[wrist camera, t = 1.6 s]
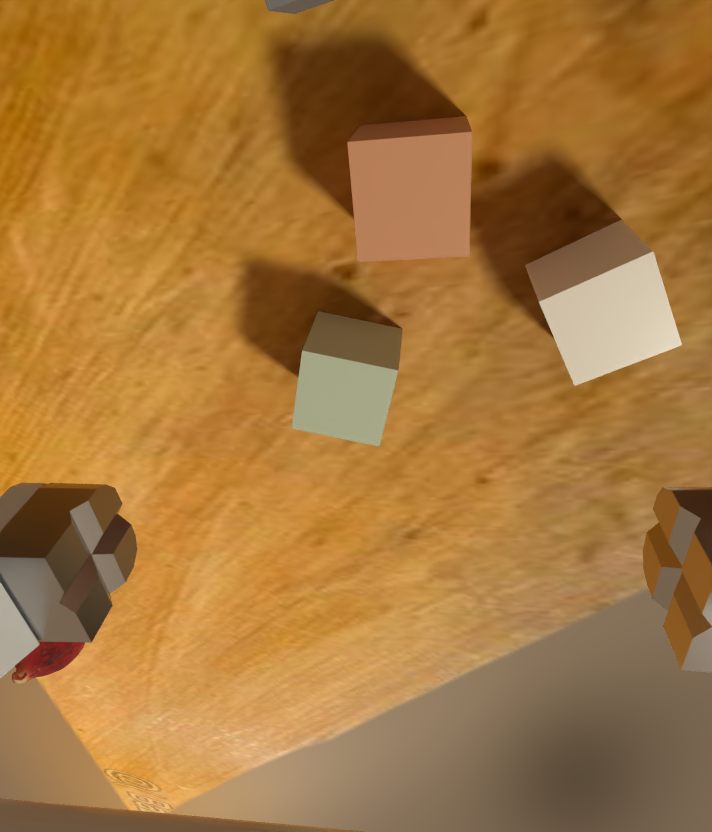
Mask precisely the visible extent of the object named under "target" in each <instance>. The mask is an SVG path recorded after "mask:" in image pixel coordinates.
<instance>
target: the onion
mask: <svg viewBox="0 0 712 832" xmlns="http://www.w3.org/2000/svg"><path fill="white" fill-rule="evenodd" d="M39 643H40V644H39V646H37V647H36V648H35V649H34V650H33V651H32V652H30V653H29V654H28V655H27V656H26V657H25V658H23V659H22V660H21V661H20V662H19V663H17V664H16V665H15V667H16V669H17V670H16V672H14V673H13V674H12V680H13V682H14V683H17V684H22V683H24V682H26V681H28V680H30V679H32V678H35V677H40V676H45V675H49V674H51V673H53V672H56V671H59V670H61V669H63V668H64V667H66V666H67V665H68V664H69V663H70V662H71V661H73V659H74V658H75V657H76V656H77V655H78V654H79V653H80V651H81V650H82V648H83V647H84V644H85V642H39Z"/></svg>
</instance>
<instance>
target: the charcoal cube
mask: <svg viewBox="0 0 712 832" xmlns="http://www.w3.org/2000/svg"><path fill="white" fill-rule="evenodd" d="M330 1H333V0H265V2H266V5H267V9H268V11H276V12H284V13H292V14H296V13H298V12H301V11H304V10H307V9H310V8H313V7H316V6H319V5H322V4H325V3H328V2H330Z"/></svg>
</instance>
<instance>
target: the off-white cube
mask: <svg viewBox="0 0 712 832" xmlns="http://www.w3.org/2000/svg"><path fill="white" fill-rule="evenodd" d="M525 267H526V270H527V272H528V275H529V278H530V280H531V283H532V285H533V288H534V291H535V293H536V296H537V299H538V301H539V304H540V306H541V308H542V311H543V313H544V315H545V318H546V320H547V322H548V325H549V327H550V329H551V332H552V334H553V336H554V339H555V341H556V343H557V346H558V348H559V350H560V353H561V355H562V357H563V360H564V362H565V364H566V367H567V369H568V372H569V374H570V376H571V379H572V381H573V383H574V386H575V385H578V384H581V383H583V382H586V381H589V380H591V379H594V378H596V377H599V376H602V375H604V374H607V373H610V372H612V371H615V370H618V369H620V368H623V367H626V366H628V365H631V364H633V363H636V362H639V361H641V360H644V359H647V358H649V357H652V356H655V355H657V354H660V353H663V352H665V351H668V350H670V349H673V348H676V347H678V346H681V345H682V344H681V341H680V337H679V334H678V331H677V327H676V324H675V321H674V318H673V314H672V311H671V308H670V305H669V301H668V298H667V295H666V291H665V288H664V285H663V282H662V278H661V275H660V272H659V269H658V265H657V262H656V259H655V256H654V252H653V251H652V250H651V249H650V248H649V247H648V246H647V244H646V243H645V242H644V241H643V240H642V239H641V238H640V237H639V236H638V235H637V234H636V233H635V232H634V231H633V230H632V229H631V228H630V227H629V226H628V225H627V224H626V223H625V222H624V221H623V220H619V221H617V222H615V223H613V224H611V225H609V226H607V227H605V228H602V229H600V230H598V231H596V232H594V233H592V234H590V235H588V236H586V237H583V238H581V239H579V240H577V241H575V242H573V243H571V244H569V245H566V246H564V247H562V248H560V249H558V250H556V251H554V252H552V253H550V254H547V255H545V256H543V257H541V258H539V259H537V260H535V261H533V262H530V263H528V264H526V265H525Z"/></svg>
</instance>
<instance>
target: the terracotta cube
mask: <svg viewBox="0 0 712 832" xmlns="http://www.w3.org/2000/svg"><path fill="white" fill-rule="evenodd" d="M347 145H348V156H349V167H350V178H351V189H352V200H353V211H354V222H355V233H356V245H357V256H358V262H366V261H386V260H405V259H425V258H444V257H464V256H470V207H471V159H472V130H471V128H470V125H469V122H468V119H467V117H466V116H462V117H450V118H439V119H427V120H415V121H404V122H392V123H381V124H369V125H360V126H359V127H358V129H357V130H356V131H355V133H354V134H353V135H352V137H351V138H350V139H349V140H348V142H347Z"/></svg>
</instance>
